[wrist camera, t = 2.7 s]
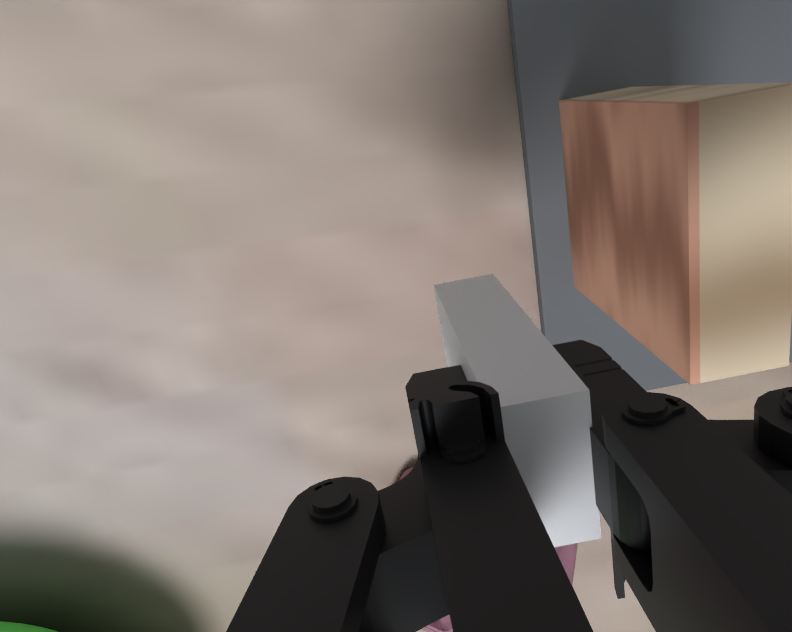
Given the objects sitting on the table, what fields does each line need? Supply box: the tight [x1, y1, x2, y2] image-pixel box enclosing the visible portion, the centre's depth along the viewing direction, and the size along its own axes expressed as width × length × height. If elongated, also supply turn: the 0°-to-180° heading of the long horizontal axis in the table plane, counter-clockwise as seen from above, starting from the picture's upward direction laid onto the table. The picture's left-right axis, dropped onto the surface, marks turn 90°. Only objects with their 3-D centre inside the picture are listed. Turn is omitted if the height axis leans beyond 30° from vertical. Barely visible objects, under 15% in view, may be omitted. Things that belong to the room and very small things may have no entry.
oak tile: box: [559, 82, 792, 385], centre depth 22 cm, size 8×3×10 cm, turn 10°
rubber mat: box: [508, 0, 792, 391], centre depth 27 cm, size 20×17×1 cm
